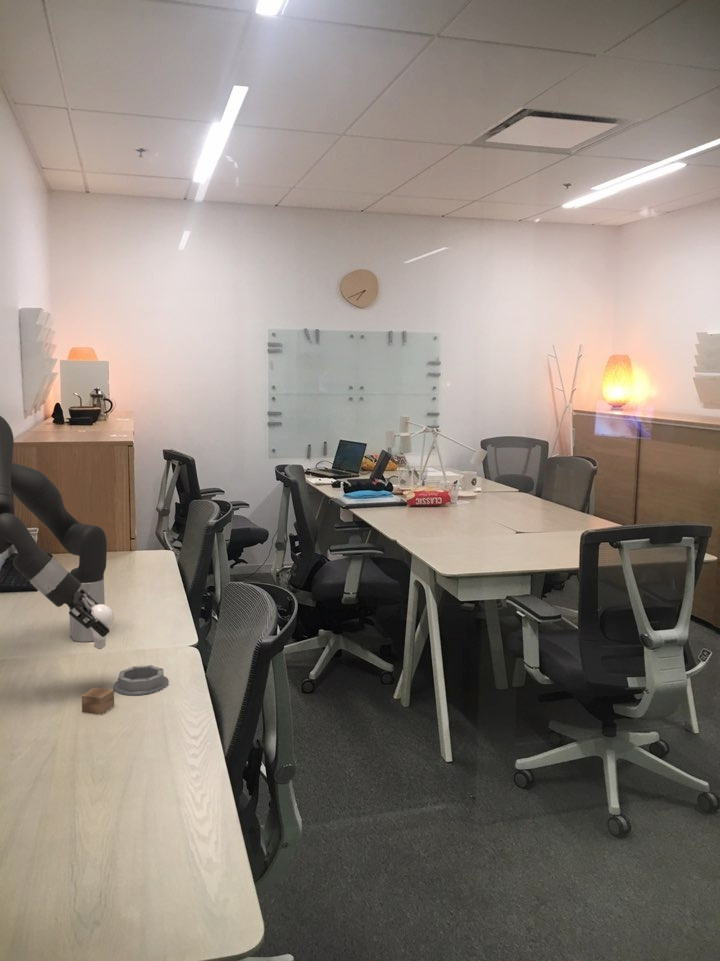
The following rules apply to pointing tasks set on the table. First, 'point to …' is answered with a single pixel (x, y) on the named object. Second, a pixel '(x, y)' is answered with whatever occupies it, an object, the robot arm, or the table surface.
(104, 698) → the walnut block
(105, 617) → the lightbulb
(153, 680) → the socket collar
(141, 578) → the table surface
